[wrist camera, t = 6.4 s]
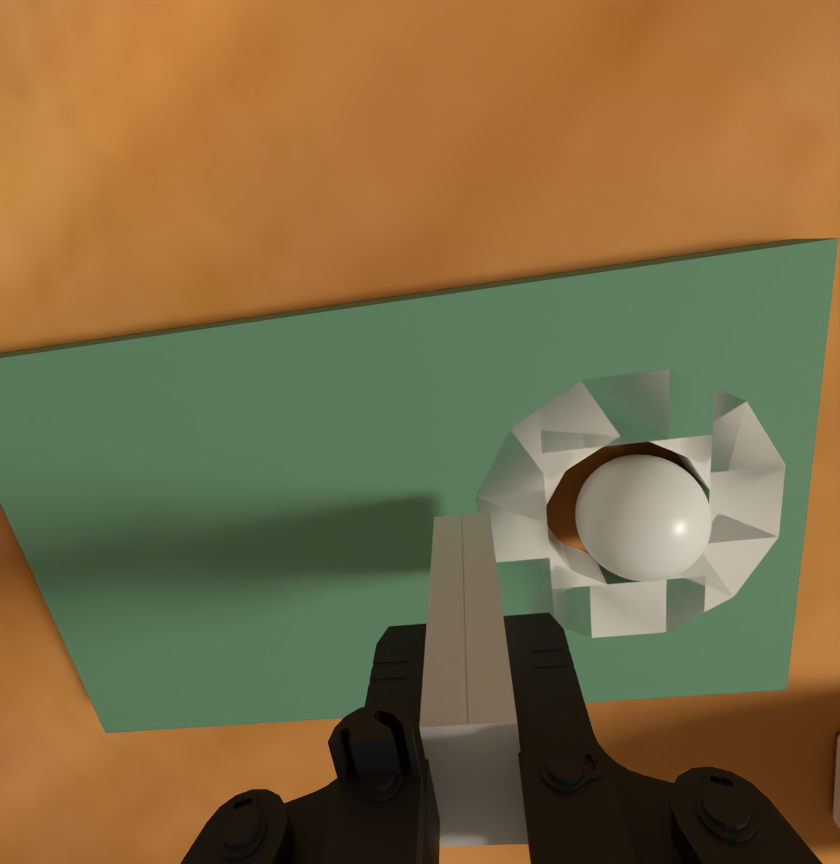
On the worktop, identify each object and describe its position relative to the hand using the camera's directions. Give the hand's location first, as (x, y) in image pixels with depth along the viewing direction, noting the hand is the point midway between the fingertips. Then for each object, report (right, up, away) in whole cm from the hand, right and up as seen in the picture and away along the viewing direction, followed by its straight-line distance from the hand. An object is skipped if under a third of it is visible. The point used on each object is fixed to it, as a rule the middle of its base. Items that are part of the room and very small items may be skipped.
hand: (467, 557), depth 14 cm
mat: (-2, +1, +3) cm, 4 cm away
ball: (+5, +1, +1) cm, 5 cm away
